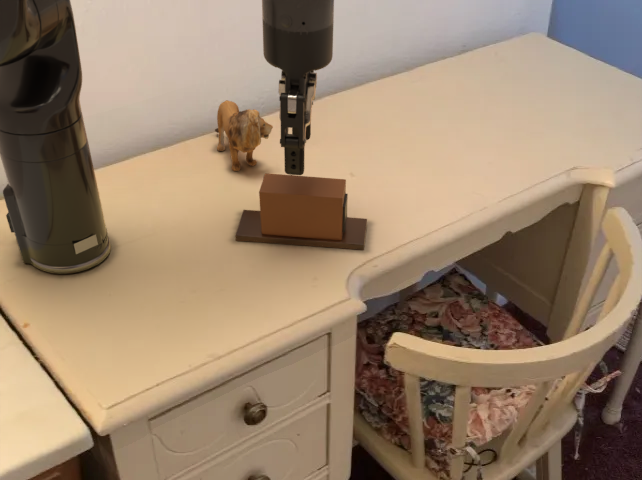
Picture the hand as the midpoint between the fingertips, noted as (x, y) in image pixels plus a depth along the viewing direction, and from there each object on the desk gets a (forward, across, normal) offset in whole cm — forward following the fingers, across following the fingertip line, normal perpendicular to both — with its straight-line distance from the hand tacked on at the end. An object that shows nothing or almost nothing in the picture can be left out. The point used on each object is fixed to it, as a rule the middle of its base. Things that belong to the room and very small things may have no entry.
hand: (298, 155), depth 99 cm
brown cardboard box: (+9, -1, -1) cm, 9 cm away
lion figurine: (+11, +17, +10) cm, 23 cm away
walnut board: (+10, -1, -1) cm, 10 cm away
